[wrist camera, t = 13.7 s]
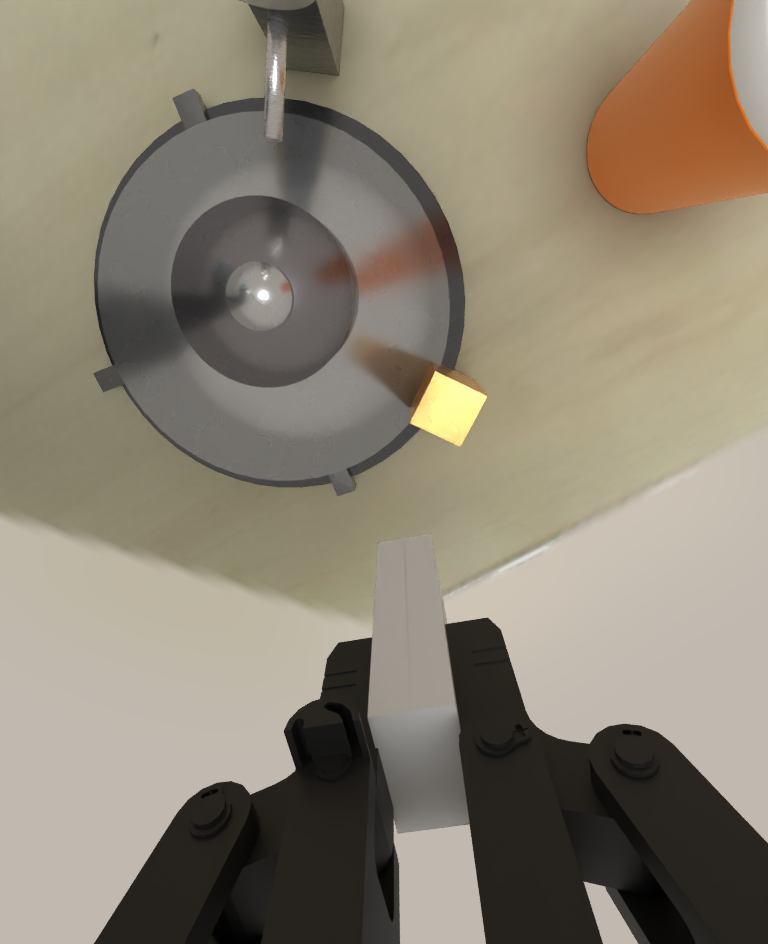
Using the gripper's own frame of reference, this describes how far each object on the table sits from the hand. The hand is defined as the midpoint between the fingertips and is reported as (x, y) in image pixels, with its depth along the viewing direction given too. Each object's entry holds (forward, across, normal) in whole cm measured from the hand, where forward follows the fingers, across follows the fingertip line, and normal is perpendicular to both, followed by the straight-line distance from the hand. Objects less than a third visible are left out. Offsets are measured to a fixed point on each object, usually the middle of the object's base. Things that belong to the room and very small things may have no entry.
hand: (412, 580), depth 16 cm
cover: (+18, -6, +9) cm, 21 cm away
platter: (+19, -5, +7) cm, 21 cm away
